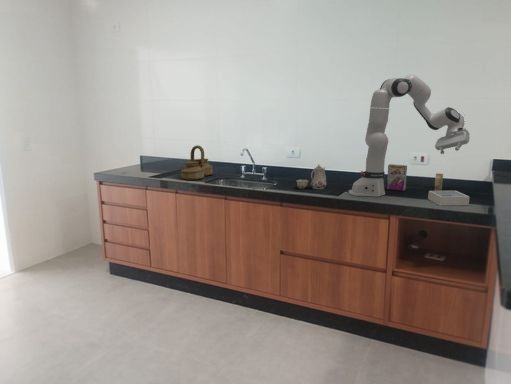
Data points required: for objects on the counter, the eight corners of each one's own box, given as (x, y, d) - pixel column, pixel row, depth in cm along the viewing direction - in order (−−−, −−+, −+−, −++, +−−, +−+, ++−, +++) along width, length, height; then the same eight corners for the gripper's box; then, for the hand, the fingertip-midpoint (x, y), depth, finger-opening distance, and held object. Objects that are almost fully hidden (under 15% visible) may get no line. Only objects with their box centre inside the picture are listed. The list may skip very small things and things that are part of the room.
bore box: (439, 205, 230) (440, 196, 229) (428, 199, 245) (428, 190, 244) (468, 205, 230) (469, 196, 229) (455, 198, 245) (456, 190, 244)
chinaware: (317, 185, 298) (316, 162, 295) (337, 186, 286) (336, 162, 284) (293, 191, 278) (291, 166, 276) (313, 192, 266) (311, 166, 264)
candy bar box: (386, 189, 274) (387, 164, 271) (388, 188, 278) (390, 163, 275) (403, 191, 268) (405, 166, 264) (405, 189, 272) (407, 165, 268)
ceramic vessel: (195, 173, 344) (194, 143, 339) (216, 174, 339) (215, 143, 334) (176, 180, 312) (175, 147, 306) (199, 181, 307) (198, 147, 301)
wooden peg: (435, 197, 249) (437, 174, 246) (432, 196, 253) (434, 173, 250) (442, 197, 249) (444, 174, 246) (439, 196, 253) (441, 173, 250)
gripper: (435, 135, 263) (430, 152, 258) (467, 126, 247) (462, 144, 241) (440, 141, 266) (436, 158, 260) (472, 133, 249) (468, 151, 244)
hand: (449, 151), depth 251 cm, fingers open, 8 cm apart
